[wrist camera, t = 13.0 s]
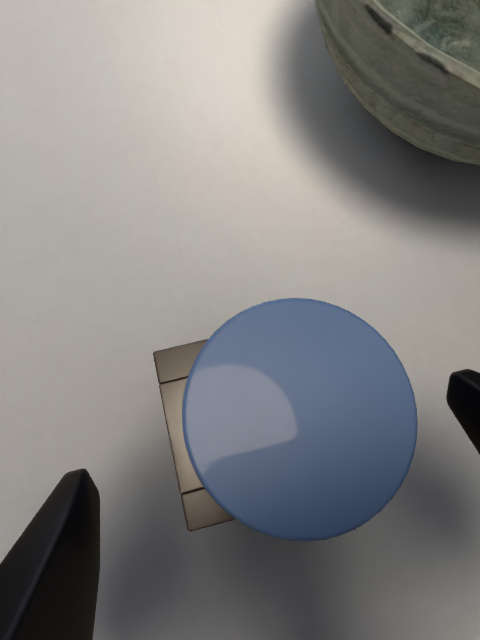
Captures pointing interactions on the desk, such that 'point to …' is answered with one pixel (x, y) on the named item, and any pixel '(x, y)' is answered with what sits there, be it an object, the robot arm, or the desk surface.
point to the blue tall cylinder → (299, 419)
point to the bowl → (412, 67)
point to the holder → (172, 381)
